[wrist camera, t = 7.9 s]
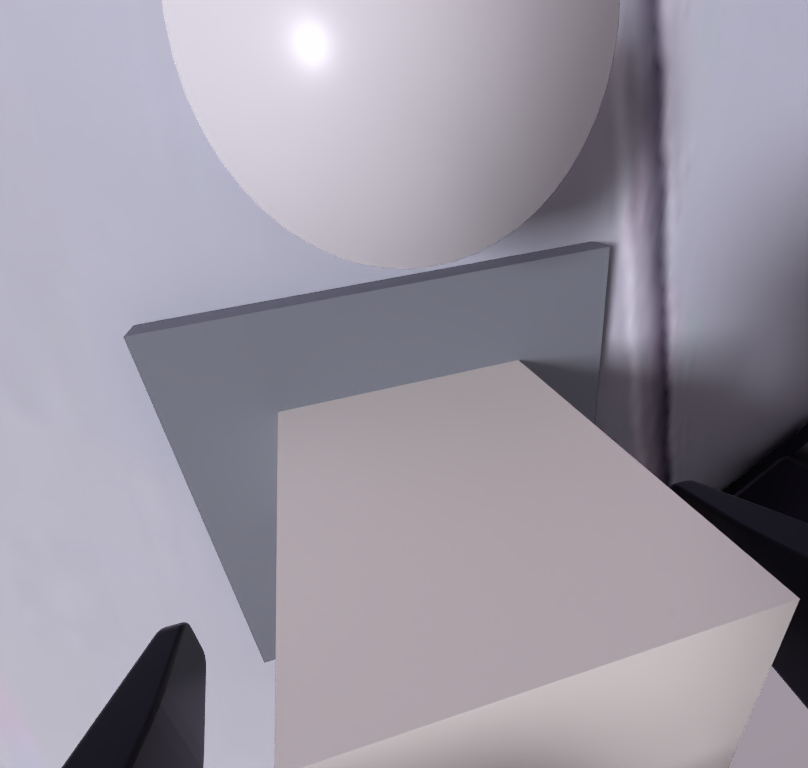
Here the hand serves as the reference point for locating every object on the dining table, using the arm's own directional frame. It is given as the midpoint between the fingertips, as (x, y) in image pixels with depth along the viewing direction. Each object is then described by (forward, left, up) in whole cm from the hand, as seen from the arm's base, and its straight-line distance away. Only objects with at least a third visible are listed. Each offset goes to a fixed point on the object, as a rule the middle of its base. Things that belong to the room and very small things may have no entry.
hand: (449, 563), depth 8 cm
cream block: (0, 0, -2) cm, 2 cm away
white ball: (+6, -4, -3) cm, 8 cm away
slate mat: (0, 0, -3) cm, 3 cm away
